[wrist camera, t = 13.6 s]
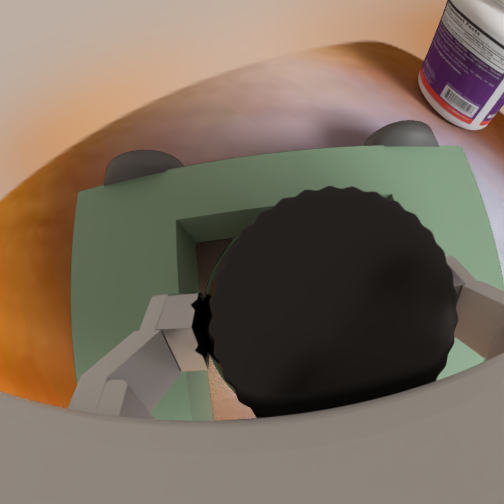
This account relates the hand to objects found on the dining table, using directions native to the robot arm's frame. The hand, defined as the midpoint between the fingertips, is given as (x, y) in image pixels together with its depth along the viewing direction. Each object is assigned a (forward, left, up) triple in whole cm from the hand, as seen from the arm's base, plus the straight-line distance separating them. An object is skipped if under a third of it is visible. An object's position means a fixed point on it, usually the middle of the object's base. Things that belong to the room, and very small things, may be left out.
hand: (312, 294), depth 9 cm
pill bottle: (-18, -16, -8) cm, 25 cm away
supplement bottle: (0, 0, -8) cm, 8 cm away
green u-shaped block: (0, -1, -8) cm, 8 cm away
